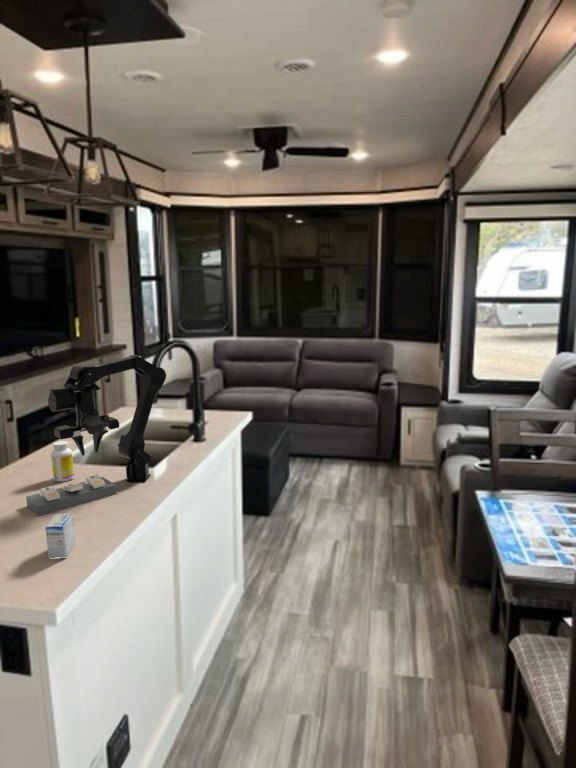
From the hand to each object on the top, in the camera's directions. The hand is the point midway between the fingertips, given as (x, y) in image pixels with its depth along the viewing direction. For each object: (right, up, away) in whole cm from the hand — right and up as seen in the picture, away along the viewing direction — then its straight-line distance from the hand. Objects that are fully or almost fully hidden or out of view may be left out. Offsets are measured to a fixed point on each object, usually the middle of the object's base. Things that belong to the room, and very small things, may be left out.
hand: (89, 453), depth 179 cm
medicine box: (+6, -21, -36) cm, 42 cm away
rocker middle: (-3, -10, -5) cm, 11 cm away
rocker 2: (+2, -9, 0) cm, 9 cm away
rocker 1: (-9, -11, -9) cm, 17 cm away
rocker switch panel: (-4, -14, -3) cm, 15 cm away
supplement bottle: (-14, -11, +16) cm, 24 cm away
